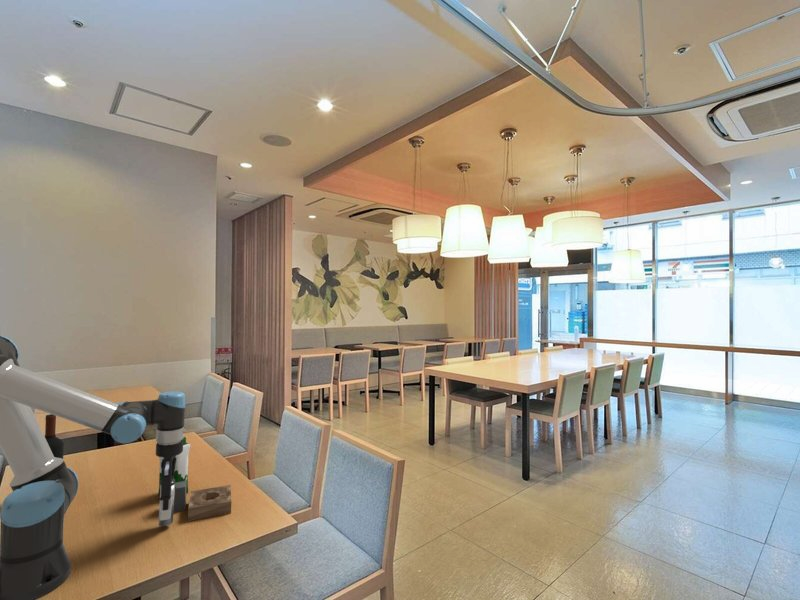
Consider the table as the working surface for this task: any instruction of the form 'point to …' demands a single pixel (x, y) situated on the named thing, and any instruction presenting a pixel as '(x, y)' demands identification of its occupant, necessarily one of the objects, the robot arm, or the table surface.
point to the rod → (170, 521)
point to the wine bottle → (53, 437)
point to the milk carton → (179, 466)
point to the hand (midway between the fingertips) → (166, 515)
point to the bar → (180, 496)
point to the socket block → (209, 502)
